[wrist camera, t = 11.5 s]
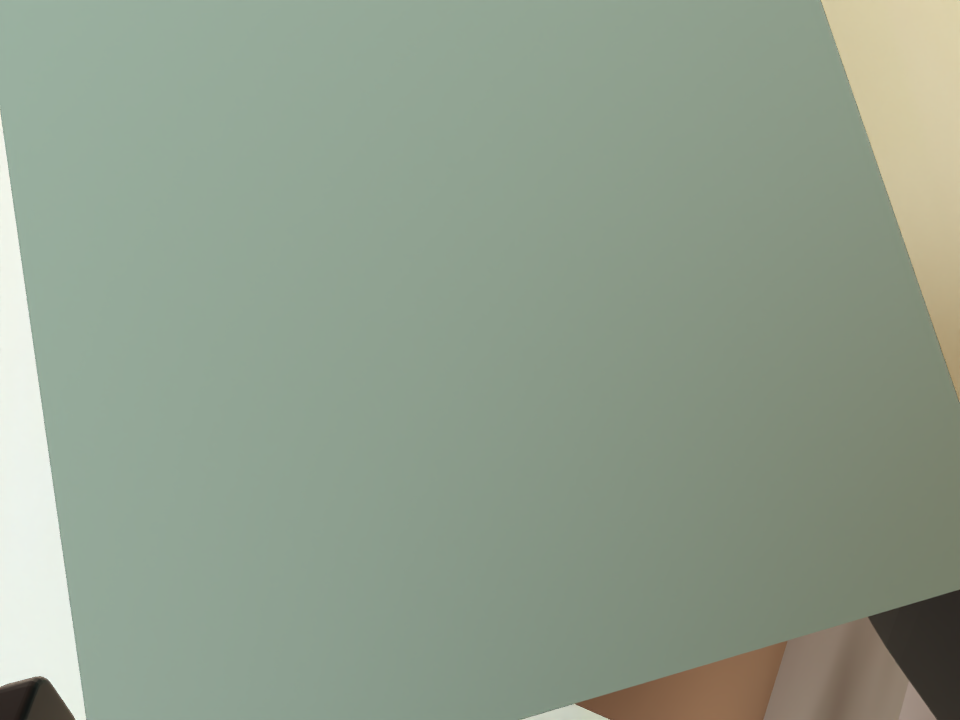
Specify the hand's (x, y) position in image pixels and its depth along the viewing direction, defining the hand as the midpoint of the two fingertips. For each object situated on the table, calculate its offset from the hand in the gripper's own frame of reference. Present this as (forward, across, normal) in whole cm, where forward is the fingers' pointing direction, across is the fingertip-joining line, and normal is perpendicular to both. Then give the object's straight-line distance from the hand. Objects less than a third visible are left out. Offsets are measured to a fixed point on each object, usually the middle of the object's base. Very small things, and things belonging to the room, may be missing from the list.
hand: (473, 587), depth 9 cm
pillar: (+7, 0, +4) cm, 8 cm away
